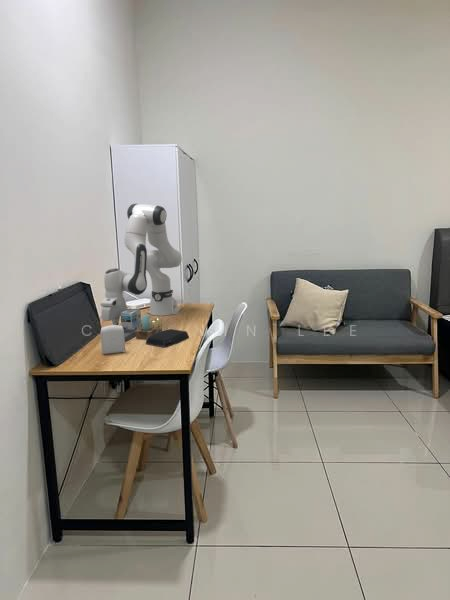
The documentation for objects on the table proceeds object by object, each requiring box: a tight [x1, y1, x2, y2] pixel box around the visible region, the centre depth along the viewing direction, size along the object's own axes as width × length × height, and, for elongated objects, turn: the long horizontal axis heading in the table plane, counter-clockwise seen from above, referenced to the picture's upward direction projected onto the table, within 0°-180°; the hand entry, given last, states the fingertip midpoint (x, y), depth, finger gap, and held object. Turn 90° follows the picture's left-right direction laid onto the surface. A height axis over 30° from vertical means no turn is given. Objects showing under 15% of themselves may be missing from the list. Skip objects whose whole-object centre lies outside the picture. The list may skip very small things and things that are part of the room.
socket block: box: [135, 326, 157, 340], centre depth 227 cm, size 8×8×4 cm
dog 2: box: [154, 317, 163, 332], centre depth 237 cm, size 3×3×7 cm
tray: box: [124, 329, 137, 343], centre depth 227 cm, size 14×9×2 cm, turn 164°
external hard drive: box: [145, 328, 190, 348], centre depth 220 cm, size 13×19×4 cm
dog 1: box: [150, 319, 158, 333], centre depth 232 cm, size 3×3×7 cm
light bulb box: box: [120, 308, 142, 330], centre depth 240 cm, size 11×7×11 cm, turn 165°
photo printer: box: [100, 324, 126, 355], centre depth 203 cm, size 10×4×12 cm, turn 105°
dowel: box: [141, 314, 151, 331], centre depth 226 cm, size 4×4×11 cm
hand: (115, 325), depth 241 cm, fingers closed
